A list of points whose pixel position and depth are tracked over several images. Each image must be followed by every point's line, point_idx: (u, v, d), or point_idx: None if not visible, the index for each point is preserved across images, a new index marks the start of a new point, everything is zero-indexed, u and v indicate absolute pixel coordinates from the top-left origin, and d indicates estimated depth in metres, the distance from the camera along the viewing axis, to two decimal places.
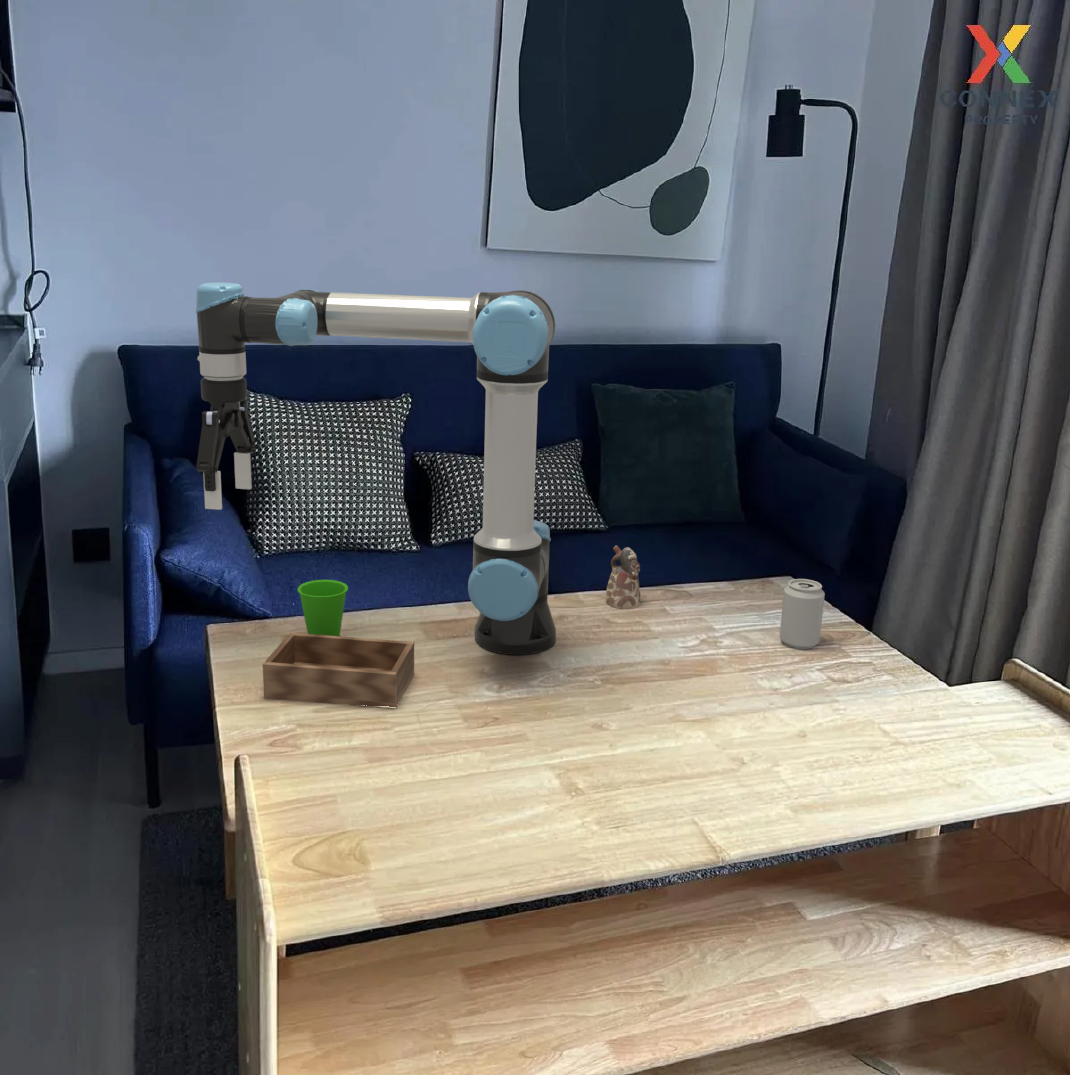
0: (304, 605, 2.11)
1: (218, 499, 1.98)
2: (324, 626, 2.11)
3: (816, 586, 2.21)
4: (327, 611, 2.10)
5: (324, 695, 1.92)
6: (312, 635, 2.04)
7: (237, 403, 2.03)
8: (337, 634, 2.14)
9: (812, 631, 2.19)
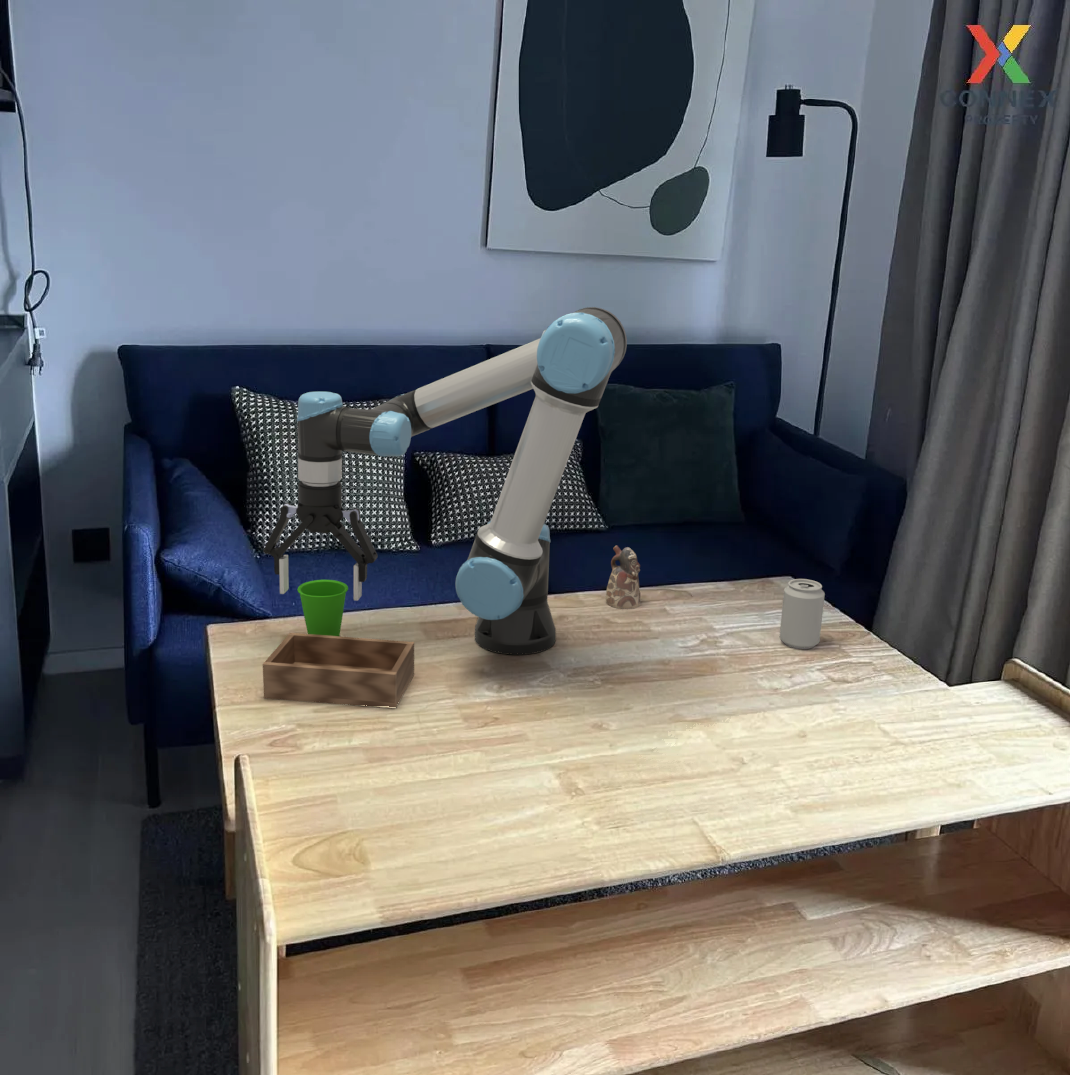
0: (304, 605, 2.11)
1: (280, 583, 2.12)
2: (324, 626, 2.11)
3: (816, 586, 2.21)
4: (327, 611, 2.10)
5: (324, 695, 1.92)
6: (312, 635, 2.04)
7: (334, 511, 2.07)
8: (337, 634, 2.14)
9: (812, 631, 2.19)
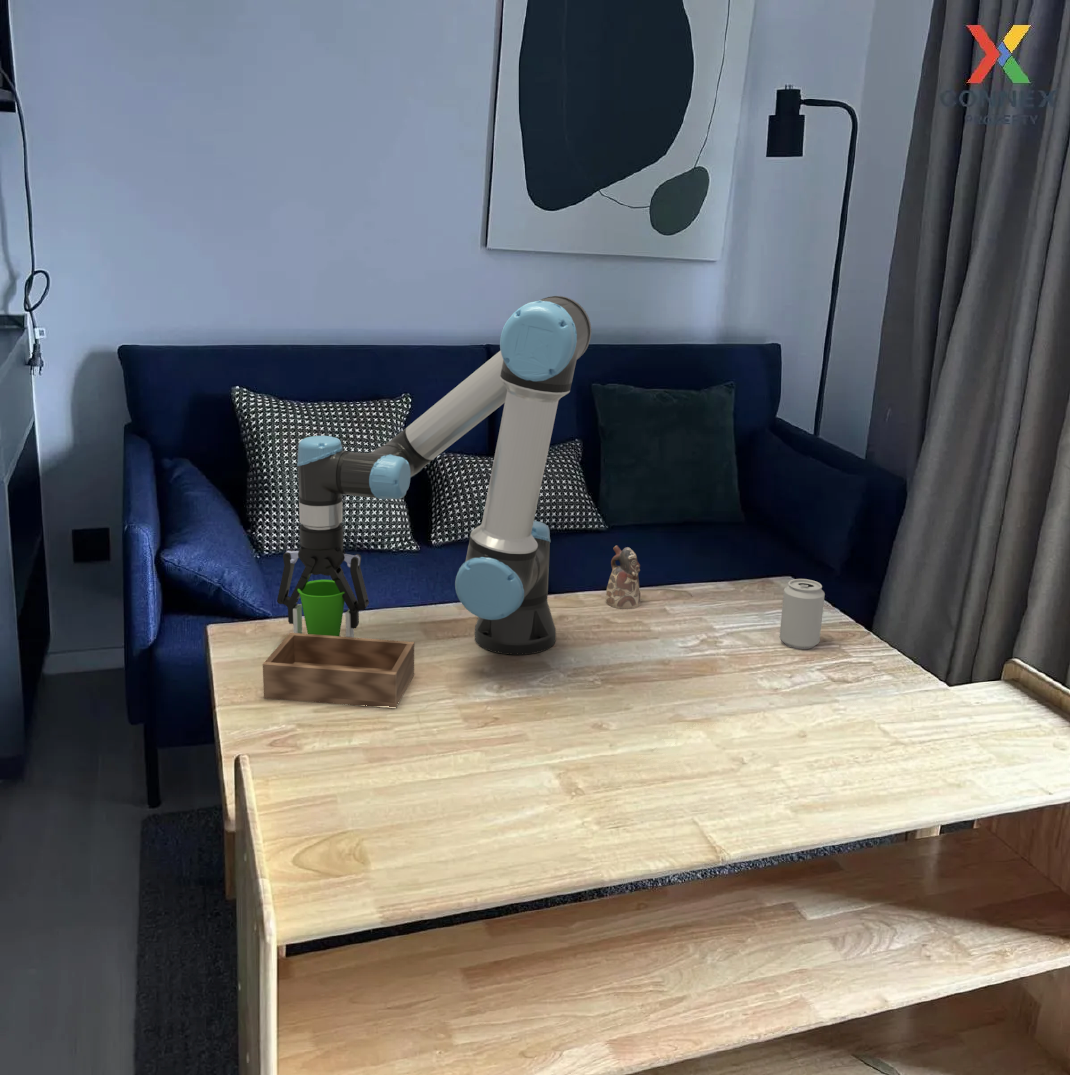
0: (304, 605, 2.11)
1: (294, 632, 2.15)
2: (324, 626, 2.11)
3: (816, 586, 2.21)
4: (327, 611, 2.10)
5: (324, 695, 1.92)
6: (312, 635, 2.04)
7: (336, 553, 2.09)
8: (337, 634, 2.14)
9: (812, 631, 2.19)
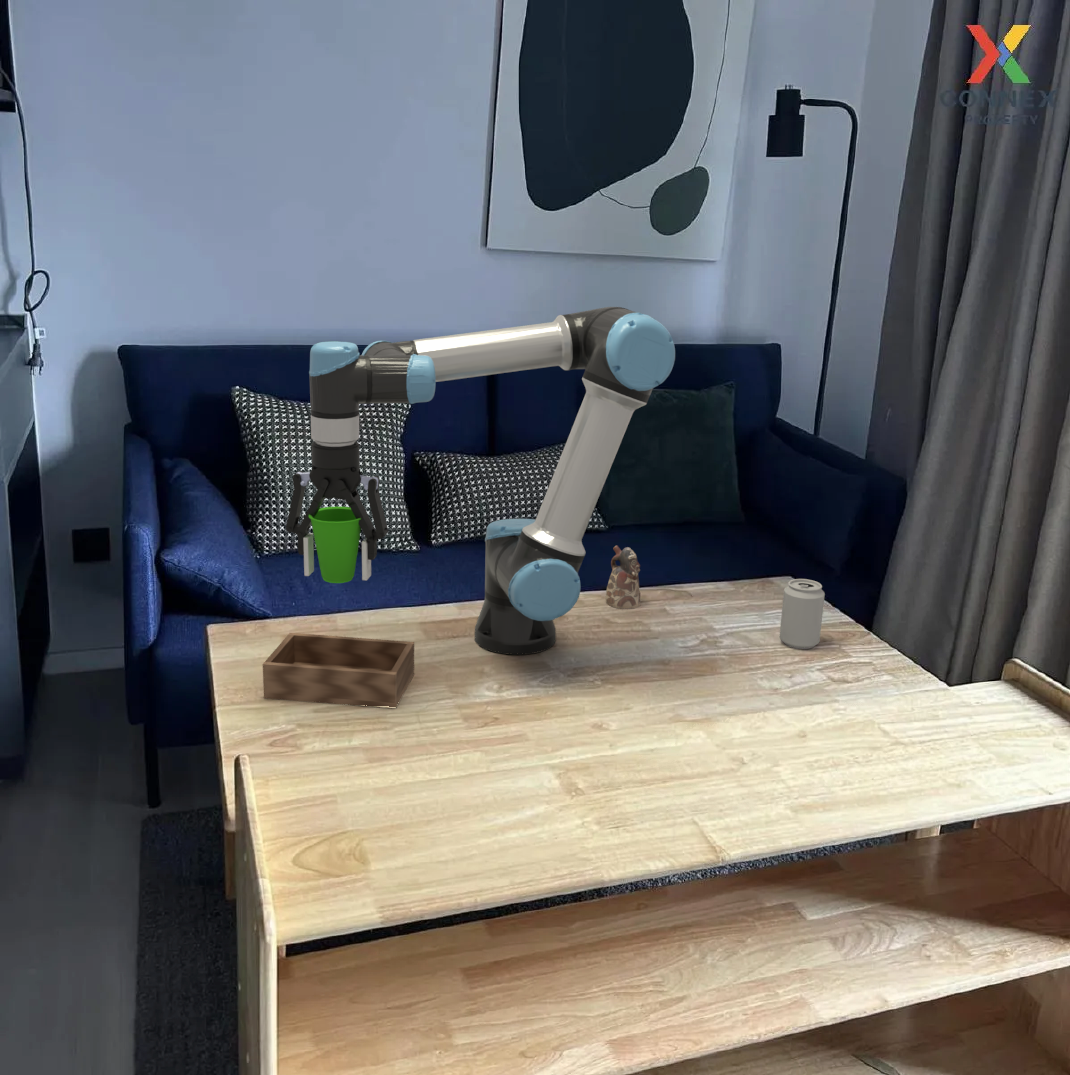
0: (316, 533, 1.89)
1: None
2: (338, 556, 1.89)
3: (816, 586, 2.21)
4: (341, 539, 1.88)
5: (324, 695, 1.92)
6: (312, 635, 2.04)
7: (352, 474, 1.87)
8: (352, 566, 1.92)
9: (812, 631, 2.19)
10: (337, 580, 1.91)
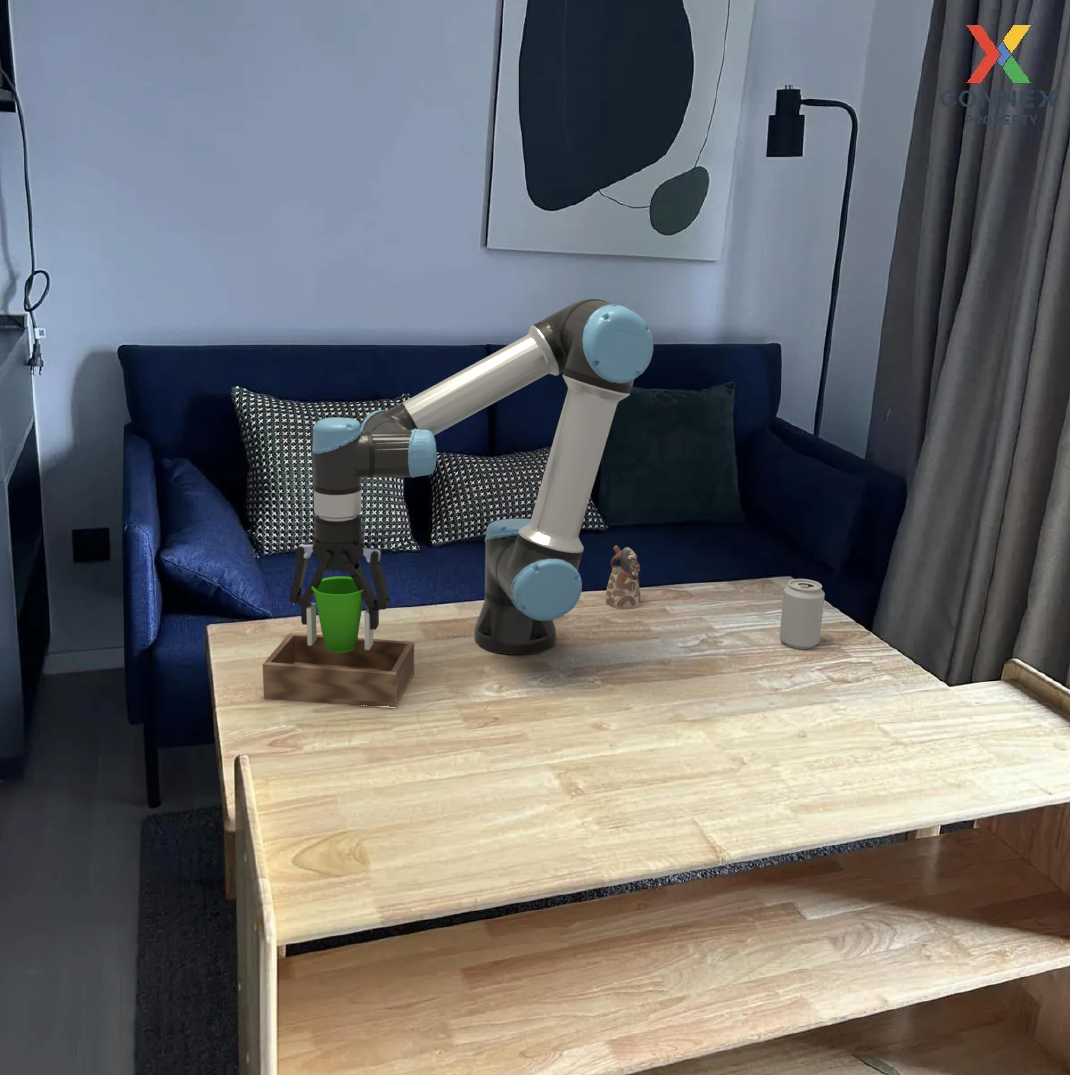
0: (319, 604, 1.92)
1: None
2: (341, 627, 1.92)
3: (816, 586, 2.21)
4: (344, 611, 1.91)
5: (324, 695, 1.92)
6: None
7: (354, 547, 1.90)
8: (355, 636, 1.95)
9: (812, 631, 2.19)
10: (340, 650, 1.94)
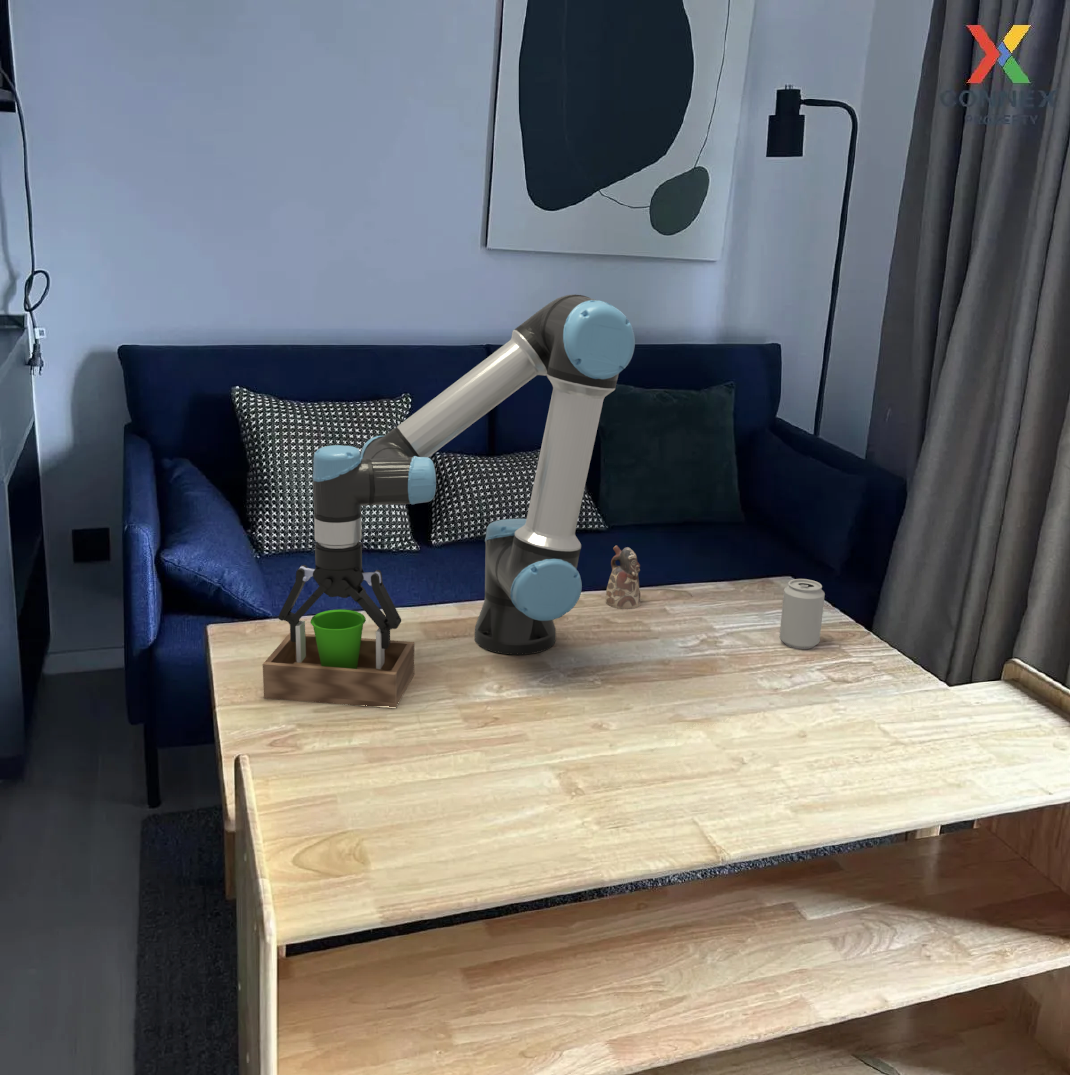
0: (318, 638, 1.94)
1: None
2: (340, 661, 1.94)
3: (816, 586, 2.21)
4: (343, 645, 1.93)
5: (324, 695, 1.92)
6: (312, 635, 2.04)
7: (354, 574, 1.92)
8: None
9: (812, 631, 2.19)
10: None
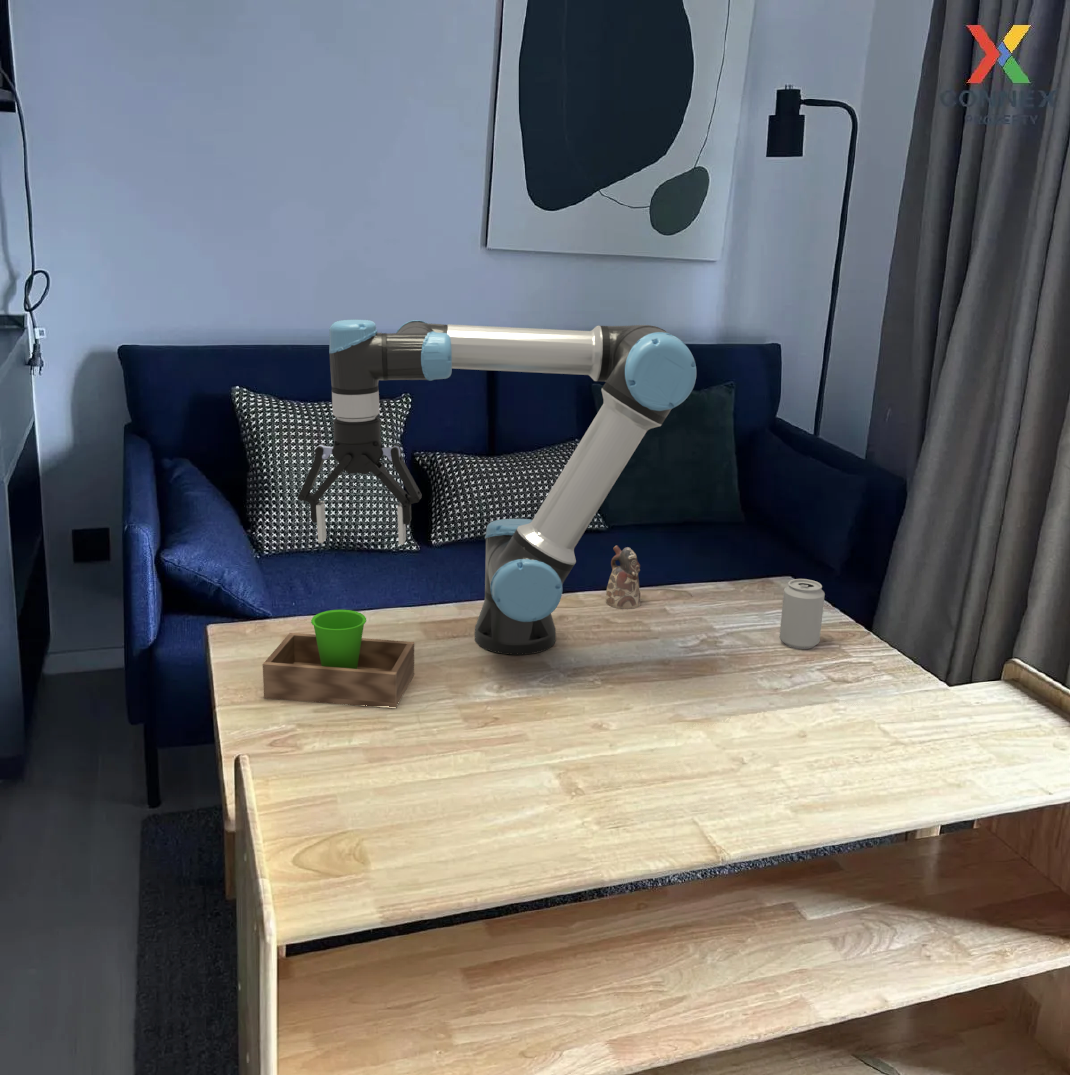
0: (318, 638, 1.94)
1: (318, 532, 1.97)
2: (341, 661, 1.94)
3: (816, 586, 2.21)
4: (343, 645, 1.93)
5: (324, 695, 1.92)
6: (312, 635, 2.04)
7: (374, 449, 1.92)
8: None
9: (812, 631, 2.19)
10: None
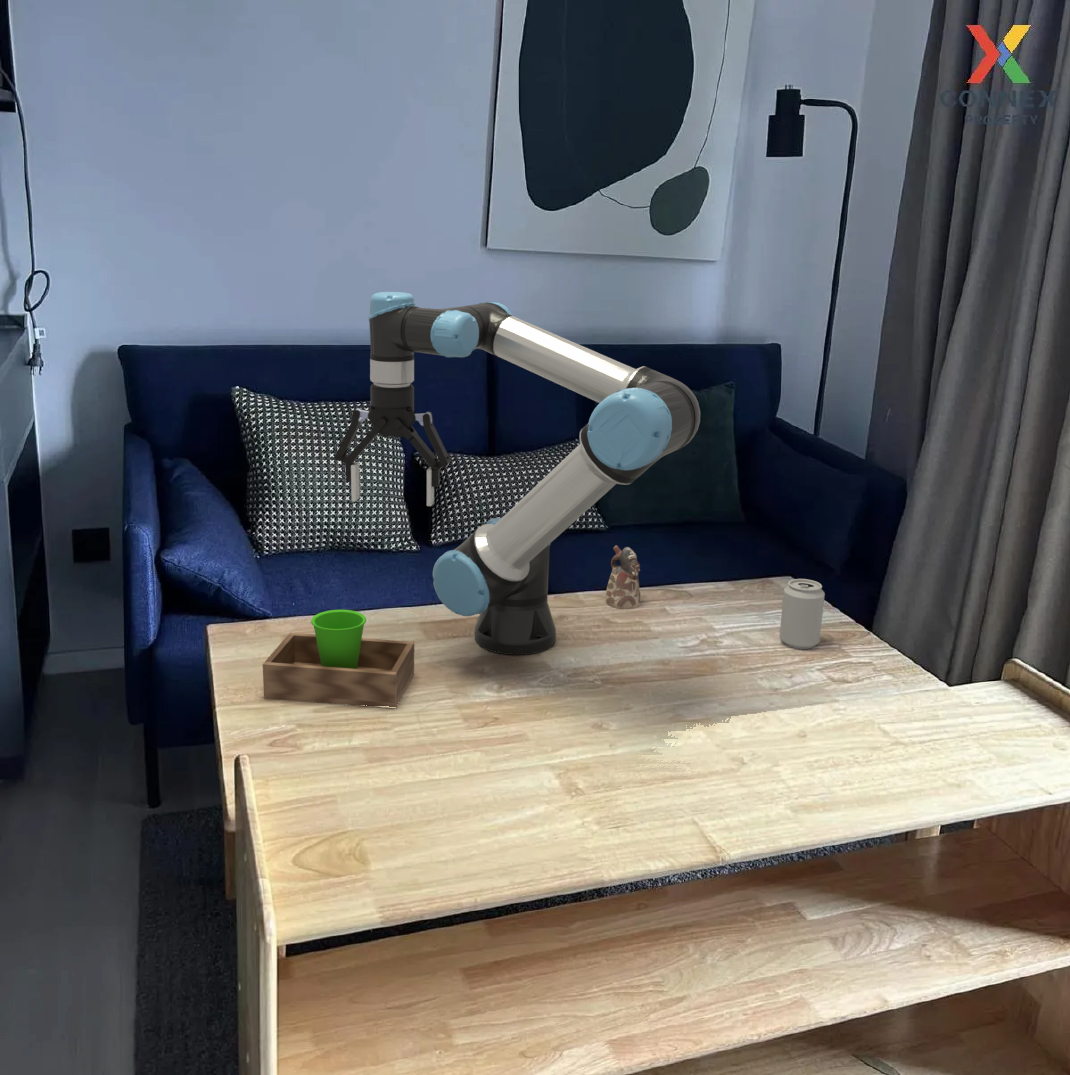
0: (318, 638, 1.94)
1: None
2: (341, 661, 1.94)
3: (816, 586, 2.21)
4: (343, 645, 1.93)
5: (324, 695, 1.92)
6: (312, 635, 2.04)
7: (407, 414, 2.04)
8: None
9: (812, 631, 2.19)
10: None
